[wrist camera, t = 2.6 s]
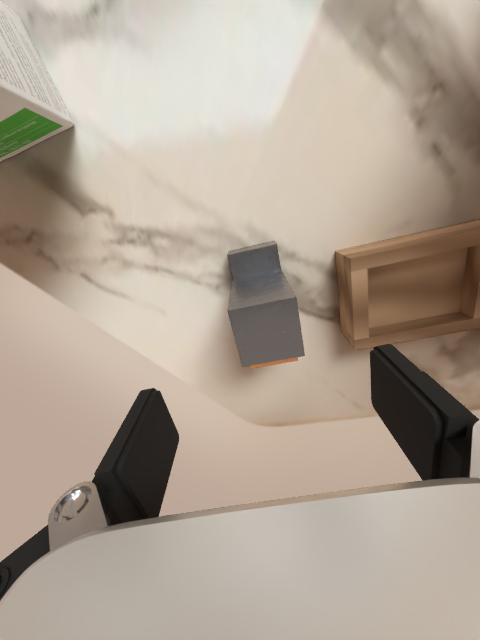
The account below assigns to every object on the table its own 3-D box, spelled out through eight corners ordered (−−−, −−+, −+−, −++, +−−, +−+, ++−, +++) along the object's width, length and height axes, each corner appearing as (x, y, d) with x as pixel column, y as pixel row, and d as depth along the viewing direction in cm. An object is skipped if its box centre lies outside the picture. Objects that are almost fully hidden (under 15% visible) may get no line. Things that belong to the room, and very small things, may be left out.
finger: (274, 240, 22) (291, 262, 14) (285, 310, 24) (305, 363, 16) (228, 251, 22) (218, 278, 14) (245, 318, 25) (244, 374, 17)
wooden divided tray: (335, 251, 22) (350, 258, 19) (596, 193, 20) (663, 191, 17) (341, 331, 25) (354, 350, 22) (566, 290, 23) (618, 303, 20)
